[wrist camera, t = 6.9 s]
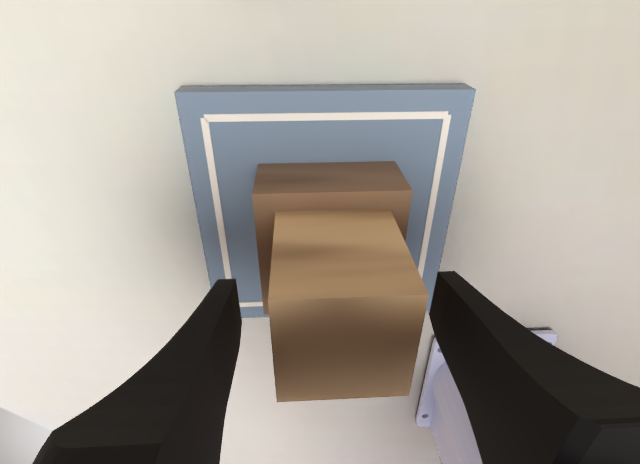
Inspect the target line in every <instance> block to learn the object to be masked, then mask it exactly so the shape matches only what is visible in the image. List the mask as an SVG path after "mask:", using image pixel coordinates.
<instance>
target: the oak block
mask: <svg viewBox="0 0 640 464" xmlns="http://www.w3.org/2000/svg"><path fill="white" fill-rule="evenodd" d="M428 296H429V294H428V292H427V289H426V287H425V285H424V283H423V281H422V278H421V276H420V274H419V272H418V269H417V267H416V265H415V263H414V261H413V258H412V256H411V254H410V252H409V249H408V247H407V245H406V243H405V241H404V238H403V236H402V234H401V232H400V229H399V227H398V225H397V223H396V221H395V218H394V216H393V214H392V212H391V209H362V210H320V211H279V212H275V222H274V234H273V246H272V258H271V270H270V282H269V294H268V307H269V318H270V330H271V341H272V352H273V364H274V375H275V386H276V398H277V402H288V401H309V400H329V399H349V398H369V397H389V396H409V393H410V388H411V383H412V377H413V372H414V367H415V362H416V357H417V352H418V347H419V342H420V337H421V332H422V327H423V322H424V317H425V312H426V307H427V301H428Z"/></svg>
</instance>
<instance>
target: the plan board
mask: <svg viewBox="0 0 640 464" xmlns="http://www.w3.org/2000/svg"><path fill="white" fill-rule="evenodd" d="M475 91H476V89H474V88H472V87H470V86H468V85H466V84H367V85H251V86H181V87H180V88H179V89H178V90H177V91H175V92H174V93H175V98H176V104H177V109H178V114H179V120H180V125H181V130H182V136H183V141H184V147H185V152H186V157H187V163H188V168H189V173H190V179H191V184H192V189H193V195H194V200H195V205H196V211H197V216H198V221H199V227H200V232H201V238H202V243H203V248H204V254H205V259H206V264H207V270H208V275H209V280H210V286H211V288H212V286H213V285H214V283H215V282H216V281H217V280H218V279H236V284H237V291H238V298H239V305H240V312H241V318H249V317H269V307H268V294H269V282H270V270H271V258H272V246H273V234H274V222H275V212H279V211H320V210H362V209H391V212H392V214H393V216H394V218H395V221H396V223H397V225H398V227H399V229H400V232H401V234H402V236H403V238H404V241H405V243H406V245H407V247H408V249H409V252H410V254H411V256H412V258H413V261H414V263H415V265H416V267H417V269H418V272H419V274H420V276H421V278H422V281H423V283H424V285H425V287H426V289H427V292H428V294H429V296H428V301H427V307H426V311H429V310H430V307H431V302H432V297H433V292H434V287H435V282H436V277H437V272H439V267H440V262H441V257H442V253H443V248H444V243H445V238H446V233H447V228H448V223H449V218H450V213H451V209H452V204H453V199H454V194H455V189H456V184H457V179H458V174H459V169H460V165H461V160H462V155H463V150H464V145H465V140H466V135H467V130H468V126H469V121H470V116H471V111H472V106H473V101H474V96H475Z"/></svg>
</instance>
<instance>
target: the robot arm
mask: <svg viewBox="0 0 640 464" xmlns="http://www.w3.org/2000/svg"><path fill="white" fill-rule="evenodd" d="M429 316H430V320H431V323H432V327H433V330H434V334H435V338H434V340H433V344H432V348H431V353H430V357H429V362H428V366H427V371H426V375H425V380H424V384H423V389H422V393H421V398H420V402H419V407H418V411H417V416H416V424H417V426H418V427H420V428H426V427H430V428H431V431H432V435H433V438H434V441H435V444H436V447H437V450H438V454H439V457H440V460H441V463H442V464H640V388H639V387H637V386H634V385H632V384H629V383H627V382H624V381H622V380H620V379H618V378H616V377H613V376H611V375H609V374H607V373H605V372H602V371H600V370H598V369H596V368H594V367H592V366H590V365H588V364H586V363H584V362H582V361H580V360H579V359H577V358H575V357H573V356H571V355H569V354H567V353H566V352H564V351H562V350H560V349H559V348H557V347H555V346H554V345H555V343H556V341H557V338H558V336H557V334H556V333H555V332H554V331H553V330H536V331H530V330H528V329H527V328H525V327H524V326H522V325H521V324H520V323H518V322H517V321H516V320H514V319H513V318H511V317H510V316H509V315H507V314H506V313H505V312H503V311H502V310H501V309H500V308H498V307H497V306H496V305H495V304H493V303H492V302H491V301H490V300H488V299H487V298H486V297H485V296H484V295H482V294H481V293H480V292H479V291H478V290H476V289H475V288H474V287H473V286H472V285H470V284H469V283H468V282H467V281H466V280H465V279H463V278H462V277H461V276H460V275H458V274H457V273H456V272H455V271H446V272H437V277H436V282H435V287H434V292H433V297H432V302H431V307H430V312H429ZM241 325H242V319H241V312H240V305H239V298H238V291H237V284H236V279H218V280H217V281H216V282H215V283H214V285H213V286H212V288H211V289H210V291H209V292H208V294H207V295H206V296H205V298H204V299H203V301H202V302H201V303H200V305H199V306H198V307H197V309H196V310H195V311H194V312H193V314H192V315H191V316H190V318H189V319H188V320H187V321H186V323H185V324H184V325H183V326H182V327H181V328H180V329H179V331H178V332H177V333H176V334H175V335H174V336H173V337H172V339H171V340H170V341H169V342H168V343H167V344H166V345H165V346H164V347H163V348H162V349H161V350H160V351H159V352H158V353H157V354H156V355H155V356H154V357H153V358H152V359H151V360H150V361H149V362H148V363H147V364H145V365H144V366H143V367H142V368H141V369H140V370H139V371H138V372H136V373H135V374H134V375H133V376H132V377H130V378H129V379H128V380H127V381H126V382H124V383H123V384H122V385H121V386H119V387H118V388H117V389H115V390H114V391H113V392H111V393H110V394H109V395H107V396H106V397H104V398H103V399H102V400H100V401H99V402H97V403H96V404H95V405H93V406H92V407H90V408H89V409H87V410H86V411H84V412H83V413H81V414H79V415H78V416H76V417H75V418H73V419H71V420H70V421H68V422H67V423H65V424H64V425H62V426H60V427H59V428H57V429H55V430H54V431H52V433H51V434H50V436H49V437H48V439H47V440H46V442H45V443H44V445H43V446H42V448H41V449H40V451H39V453H38V455H37V457H36V458H35V460H34V462H33V464H219V462H220V453H221V444H222V435H223V427H224V419H225V413H226V407H227V402H228V398H229V393H230V389H231V384H232V380H233V375H234V371H235V366H236V361H237V357H238V352H239V346H240V337H241Z"/></svg>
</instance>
